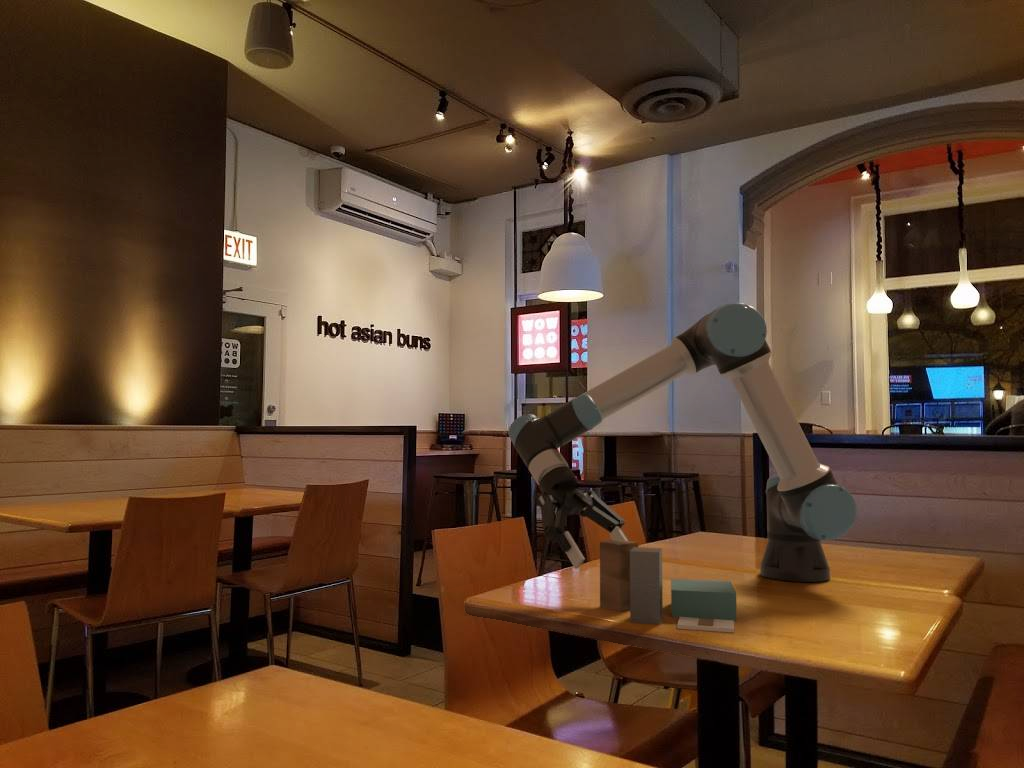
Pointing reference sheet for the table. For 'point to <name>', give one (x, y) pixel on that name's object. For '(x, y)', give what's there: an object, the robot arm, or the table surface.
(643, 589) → the grey metal block
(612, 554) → the walnut block
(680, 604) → the teal pedestal
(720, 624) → the card
